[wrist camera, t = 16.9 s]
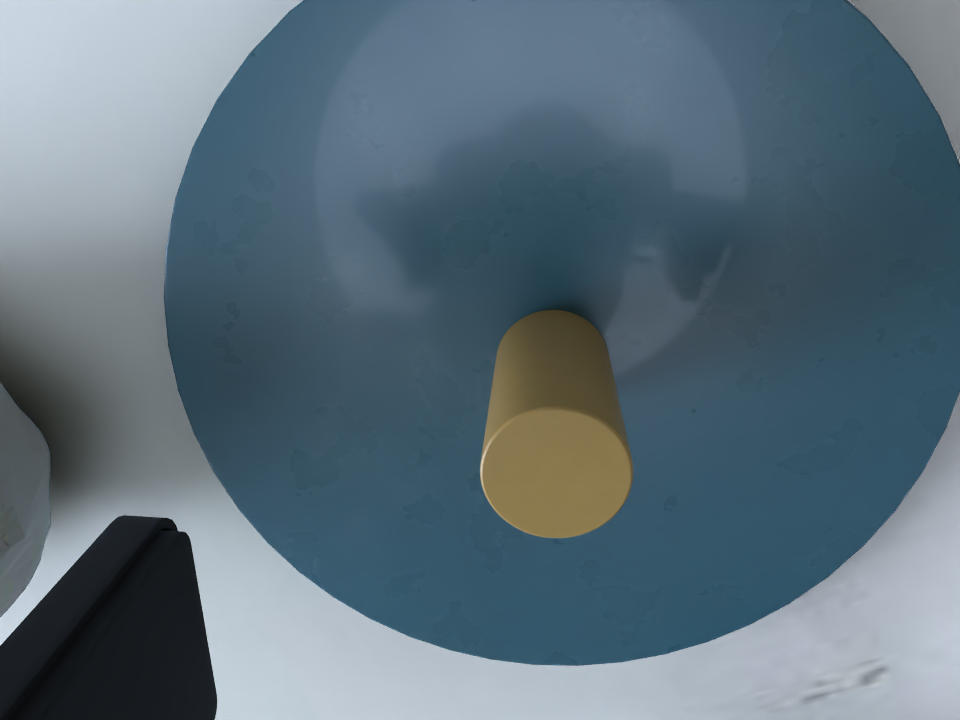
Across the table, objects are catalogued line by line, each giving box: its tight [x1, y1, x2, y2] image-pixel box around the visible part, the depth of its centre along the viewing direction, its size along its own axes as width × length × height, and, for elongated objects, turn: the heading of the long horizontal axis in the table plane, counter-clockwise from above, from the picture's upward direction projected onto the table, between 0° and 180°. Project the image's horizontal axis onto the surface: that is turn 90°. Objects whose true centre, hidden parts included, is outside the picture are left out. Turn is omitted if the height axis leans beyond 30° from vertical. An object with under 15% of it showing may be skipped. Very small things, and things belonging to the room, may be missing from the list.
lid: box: [164, 0, 960, 666], centre depth 15 cm, size 18×18×6 cm
